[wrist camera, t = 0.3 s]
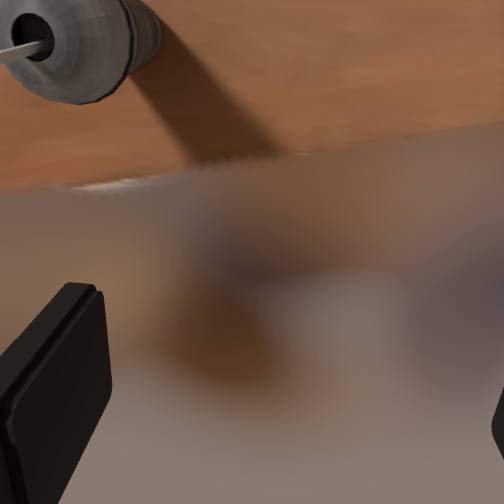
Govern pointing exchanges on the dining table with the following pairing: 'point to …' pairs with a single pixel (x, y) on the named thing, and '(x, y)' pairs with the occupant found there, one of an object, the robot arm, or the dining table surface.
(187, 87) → the dining table surface
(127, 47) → the beverage cup
